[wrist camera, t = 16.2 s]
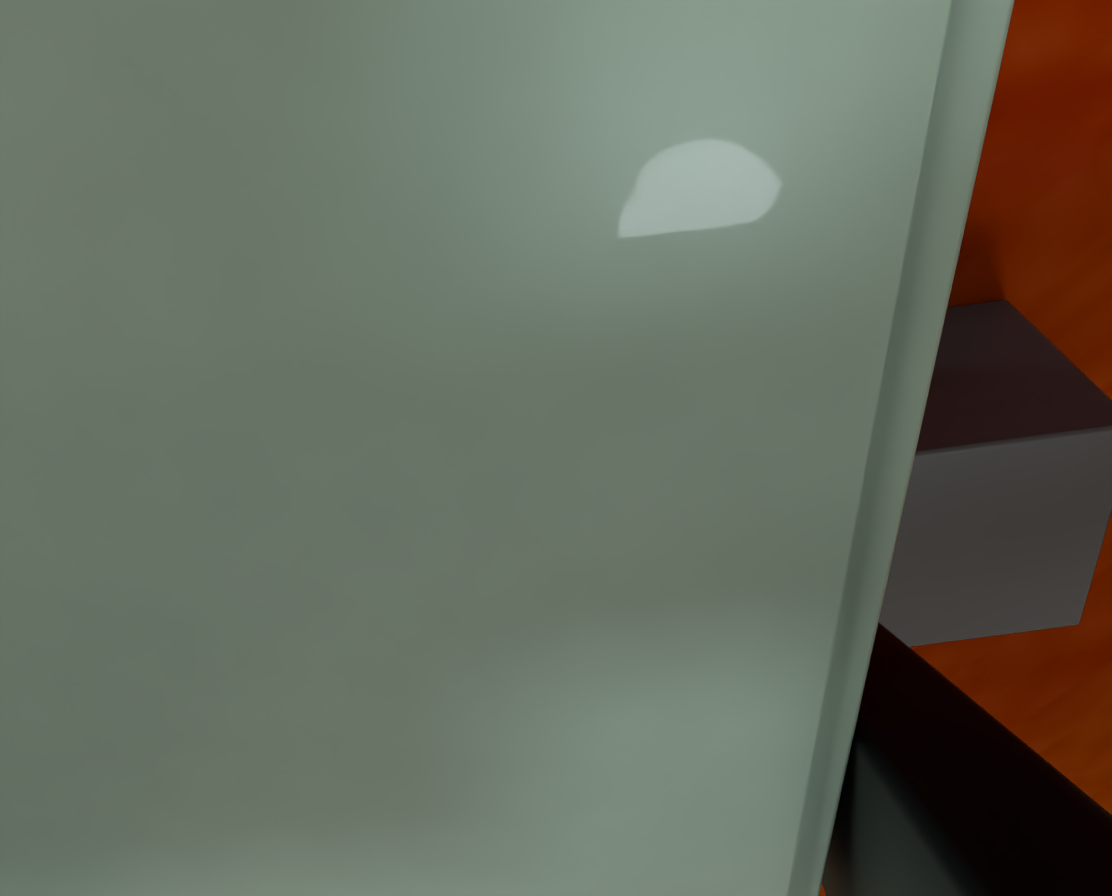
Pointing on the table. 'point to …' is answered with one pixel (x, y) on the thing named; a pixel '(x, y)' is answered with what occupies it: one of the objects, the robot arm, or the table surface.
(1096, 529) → the block
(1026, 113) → the table surface
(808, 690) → the pocket book
